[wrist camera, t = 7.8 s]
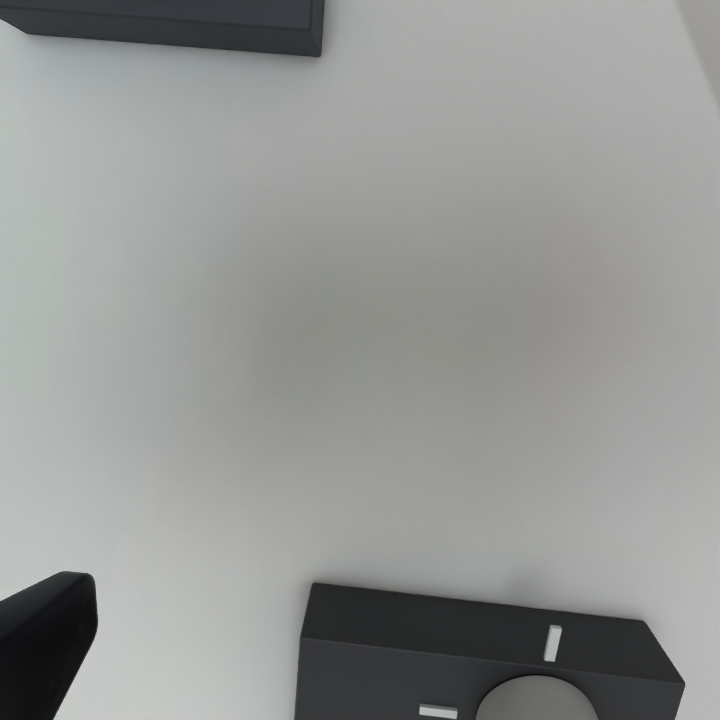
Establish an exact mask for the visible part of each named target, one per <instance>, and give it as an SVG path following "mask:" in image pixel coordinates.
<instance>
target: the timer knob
mask: <svg viewBox="0 0 720 720" xmlns="http://www.w3.org/2000/svg"><path fill="white" fill-rule="evenodd" d="M476 720H598V718H597V715H596V713H595V711H594V708H593V706H592V704H591V702H590V701H589V700H588V698H587V697H586V696H585V695H584V694H583V693H582V692H581V691H580V690H579V689H577V688H576V687H575V686H573V685H571V684H570V683H568V682H566V681H563V680H561V679H558V678H554V677H549V676H541V675H530V676H522V677H518V678H514V679H511V680H509V681H506V682H504V683H502V684H500V685H499V686H497V687H496V688H494V689H493V690H492V691H491V692H489V694H488V695H487V696H486V697H485V698H484V699H483V701H482V702H481V704H480V706H479V708H478V711H477V715H476Z"/></svg>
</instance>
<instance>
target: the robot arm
mask: <svg viewBox="0 0 720 720" xmlns="http://www.w3.org/2000/svg"><path fill="white" fill-rule="evenodd" d="M97 627H98V614H97V601H96V588H95V580H94V578H93V576H92V575H90V574H88V573H80V572H71V571H63V572H59V573H57V574H55V575H53V576H51V577H49V578H47V579H45V580H43V581H41V582H39V583H37V584H35V585H33V586H30V587H28V588H26V589H24V590H22V591H20V592H18V593H16V594H14V595H12V596H10V597H8V598H6V599H4V600H2V601H0V720H53V719H54V717H55V715H56V713H57V711H58V709H59V707H60V705H61V704H62V702H63V700H64V698H65V696H66V694H67V692H68V690H69V688H70V686H71V684H72V682H73V680H74V678H75V676H76V674H77V672H78V670H79V668H80V666H81V664H82V662H83V661H84V659H85V657H86V655H87V653H88V651H89V649H90V647H91V645H92V643H93V641H94V638H95V635H96V632H97Z"/></svg>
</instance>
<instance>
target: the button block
mask: <svg viewBox="0 0 720 720" xmlns="http://www.w3.org/2000/svg"><path fill="white" fill-rule="evenodd" d="M323 15H324V0H0V19H1V20H3V21H5V22H7V23H9V24H10V25H12V26H14V27H16V28H18V29H19V30H21V31H23V32H25V33H27V34H38V35H51V36H64V37H77V38H89V39H102V40H115V41H128V42H140V43H153V44H166V45H178V46H191V47H204V48H217V49H229V50H242V51H255V52H267V53H280V54H293V55H306V56H320V55H321V47H322V31H323Z"/></svg>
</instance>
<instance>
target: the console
mask: <svg viewBox="0 0 720 720" xmlns="http://www.w3.org/2000/svg"><path fill="white" fill-rule="evenodd" d="M530 675H541V676H549V677H554V678H558V679H561V680H563V681H566V682H568V683H570V684H571V685H573V686H575V687H576V688H577V689H579V690H580V691H581V692H582V693H583V694H584V695H585V696H586V697H587V698H588V700H589V701H590V702H591V704H592V706H593V708H594V711H595V713H596V715H597V718H598V720H675V717H676V714H677V710H678V707H679V704H680V701H681V697H682V694H683V691H684V688H685V682H684V680H683V679H682V677H681V676H680V674H679V673H678V671H677V670H676V668H675V667H674V665H673V664H672V662H671V661H670V659H669V658H668V656H667V654H666V653H665V651H664V650H663V648H662V647H661V645H660V644H659V642H658V641H657V639H656V638H655V636H654V635H653V633H652V632H651V630H650V629H649V627H648V626H647V624H646V623H645V622H641V621H632V620H624V619H615V618H606V617H598V616H589V615H581V614H572V613H564V612H555V611H546V610H538V609H529V608H521V607H512V606H504V605H495V604H487V603H478V602H469V601H461V600H452V599H444V598H435V597H427V596H418V595H409V594H401V593H392V592H384V591H375V590H367V589H358V588H349V587H341V586H332V585H324V584H315V583H313V584H312V587H311V591H310V596H309V600H308V604H307V609H306V613H305V618H304V622H303V627H302V631H301V636H300V646H299V660H298V674H297V689H296V703H295V717H294V720H476V715H477V711H478V708H479V706H480V704H481V702H482V701H483V699H484V698H485V697H486V696H487V695H488V694H489V692H491V691H492V690H493V689H494V688H496V687H497V686H499V685H500V684H502V683H504V682H506V681H509V680H511V679H514V678H518V677H522V676H530Z"/></svg>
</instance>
